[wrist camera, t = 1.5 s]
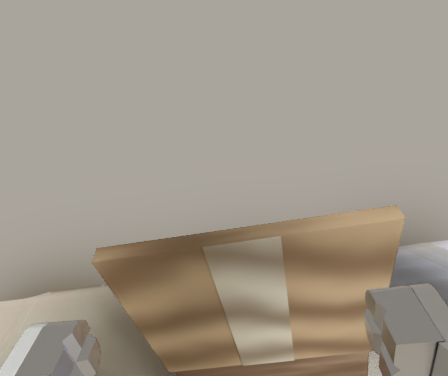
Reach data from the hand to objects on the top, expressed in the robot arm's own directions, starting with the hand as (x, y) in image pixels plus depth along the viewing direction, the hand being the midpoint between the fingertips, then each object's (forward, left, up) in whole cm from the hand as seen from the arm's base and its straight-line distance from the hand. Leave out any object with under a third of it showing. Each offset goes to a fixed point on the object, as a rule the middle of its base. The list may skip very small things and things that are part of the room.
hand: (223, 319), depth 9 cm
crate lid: (+10, -8, -14) cm, 20 cm away
